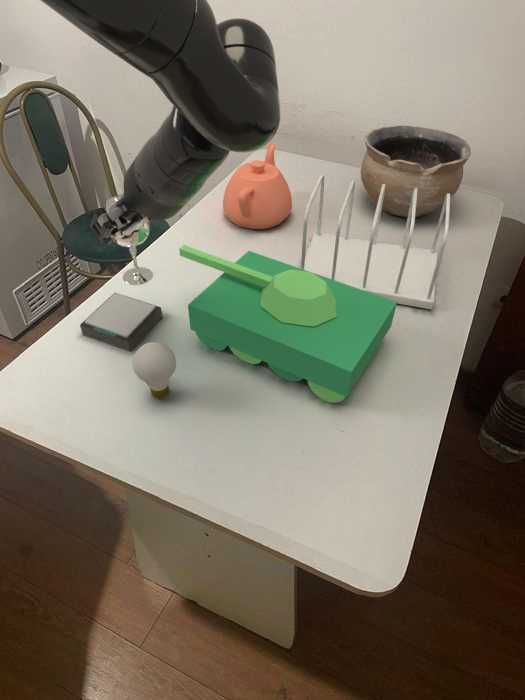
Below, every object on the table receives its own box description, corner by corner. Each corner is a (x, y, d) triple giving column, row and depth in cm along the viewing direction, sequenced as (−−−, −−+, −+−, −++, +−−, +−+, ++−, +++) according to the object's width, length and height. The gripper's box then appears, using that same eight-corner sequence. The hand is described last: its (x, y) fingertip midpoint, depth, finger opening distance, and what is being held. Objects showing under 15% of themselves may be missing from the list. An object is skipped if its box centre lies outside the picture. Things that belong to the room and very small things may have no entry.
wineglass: (161, 283, 76) (149, 208, 67) (121, 291, 74) (104, 216, 66) (153, 262, 80) (141, 189, 71) (115, 269, 78) (99, 196, 70)
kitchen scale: (130, 351, 83) (127, 339, 81) (82, 334, 86) (78, 322, 84) (162, 316, 90) (160, 304, 88) (117, 302, 92) (114, 290, 90)
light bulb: (136, 387, 78) (125, 339, 71) (174, 376, 79) (166, 328, 72) (146, 416, 74) (135, 368, 67) (185, 404, 76) (179, 356, 69)
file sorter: (435, 258, 103) (457, 186, 93) (431, 312, 91) (455, 235, 81) (313, 238, 108) (320, 167, 97) (294, 287, 96) (300, 211, 85)
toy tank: (210, 219, 90) (402, 282, 77) (214, 276, 98) (387, 342, 86) (144, 268, 79) (355, 352, 66) (155, 328, 87) (343, 412, 75)
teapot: (242, 187, 124) (241, 136, 116) (303, 197, 121) (306, 145, 113) (209, 233, 109) (205, 178, 101) (277, 245, 106) (279, 190, 98)
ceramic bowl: (350, 224, 113) (360, 157, 102) (358, 180, 128) (368, 118, 117) (454, 237, 109) (475, 169, 99) (450, 190, 125) (468, 127, 114)
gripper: (195, 127, 62) (146, 188, 76) (95, 165, 54) (61, 225, 68) (228, 182, 63) (174, 232, 77) (135, 227, 56) (94, 274, 69)
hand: (122, 229), depth 73 cm, fingers closed on wineglass, 5 cm apart
